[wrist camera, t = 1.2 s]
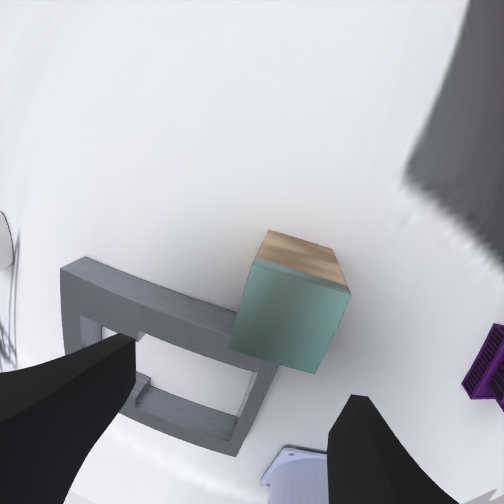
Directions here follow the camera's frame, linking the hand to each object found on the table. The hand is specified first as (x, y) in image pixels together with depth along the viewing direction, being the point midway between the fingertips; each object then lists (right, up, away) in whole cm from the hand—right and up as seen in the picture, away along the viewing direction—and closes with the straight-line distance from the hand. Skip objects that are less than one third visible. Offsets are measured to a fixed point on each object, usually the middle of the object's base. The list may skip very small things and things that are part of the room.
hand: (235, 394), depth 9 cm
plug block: (+3, +3, +10) cm, 11 cm away
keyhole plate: (-6, -4, +13) cm, 15 cm away
